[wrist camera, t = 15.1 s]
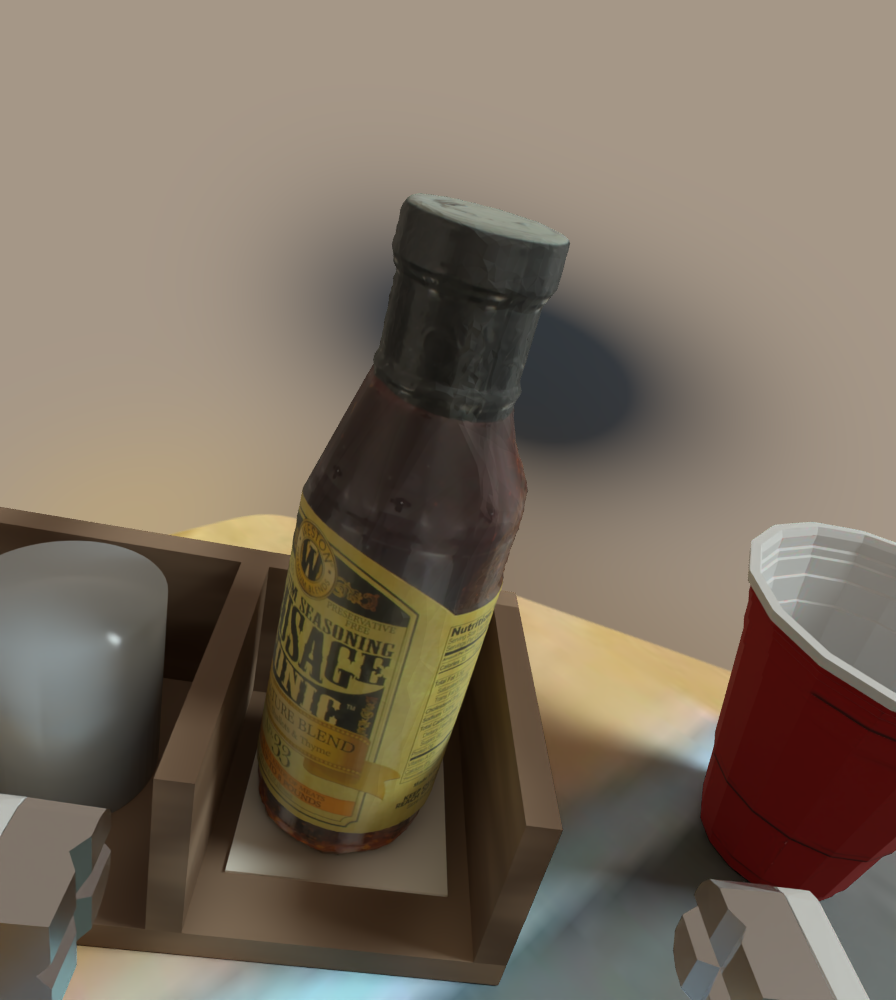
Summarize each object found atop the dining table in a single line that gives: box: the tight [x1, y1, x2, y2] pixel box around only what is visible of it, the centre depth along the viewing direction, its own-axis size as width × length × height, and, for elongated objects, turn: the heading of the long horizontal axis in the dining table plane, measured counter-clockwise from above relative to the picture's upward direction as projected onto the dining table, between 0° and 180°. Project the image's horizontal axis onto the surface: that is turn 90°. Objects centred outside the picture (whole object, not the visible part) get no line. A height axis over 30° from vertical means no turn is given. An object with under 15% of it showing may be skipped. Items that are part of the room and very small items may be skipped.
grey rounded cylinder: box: [0, 541, 168, 813], centre depth 24 cm, size 6×6×7 cm
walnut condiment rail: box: [0, 507, 563, 985], centre depth 25 cm, size 20×11×7 cm, turn 92°
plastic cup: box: [700, 522, 896, 901], centre depth 27 cm, size 11×11×12 cm
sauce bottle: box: [257, 193, 570, 855], centre depth 22 cm, size 6×6×20 cm
